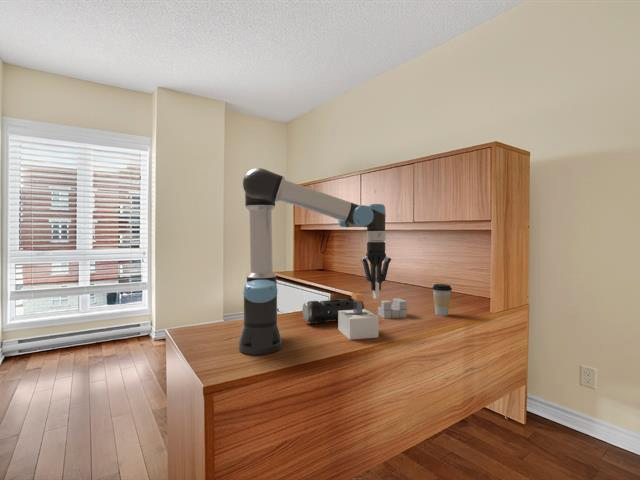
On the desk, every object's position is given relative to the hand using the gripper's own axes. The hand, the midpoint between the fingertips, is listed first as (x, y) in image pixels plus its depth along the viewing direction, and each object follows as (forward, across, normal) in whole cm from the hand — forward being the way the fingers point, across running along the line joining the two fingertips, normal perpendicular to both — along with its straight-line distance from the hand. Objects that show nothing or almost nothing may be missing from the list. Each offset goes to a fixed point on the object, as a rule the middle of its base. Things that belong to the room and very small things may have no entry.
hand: (376, 298), depth 136 cm
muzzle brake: (+14, -12, +20) cm, 27 cm away
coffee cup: (+15, +45, +18) cm, 50 cm away
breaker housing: (+14, -8, 0) cm, 16 cm away
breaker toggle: (+6, -8, 0) cm, 10 cm away
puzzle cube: (+15, +20, +25) cm, 35 cm away
